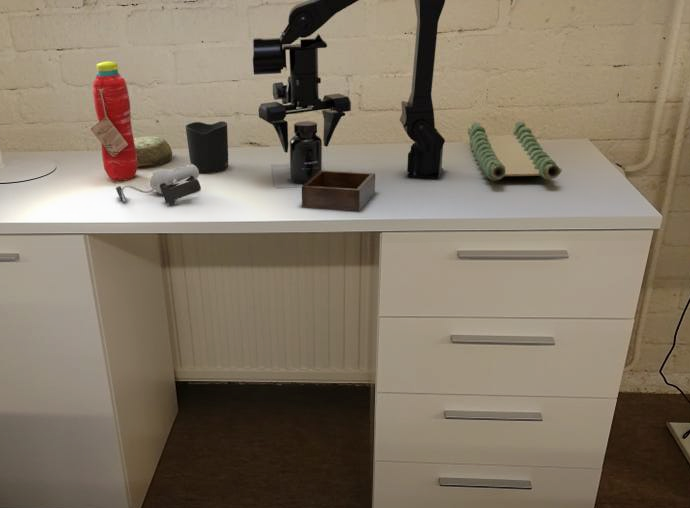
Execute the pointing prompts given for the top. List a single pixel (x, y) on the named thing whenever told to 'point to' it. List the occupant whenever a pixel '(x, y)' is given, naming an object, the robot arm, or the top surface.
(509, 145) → the stretcher
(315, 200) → the holder
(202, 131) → the pen holder
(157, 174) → the clip-on lamp
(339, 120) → the robot arm
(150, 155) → the mossy green stone
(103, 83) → the water bottle
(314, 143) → the supplement bottle
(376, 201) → the top surface
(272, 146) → the top surface
